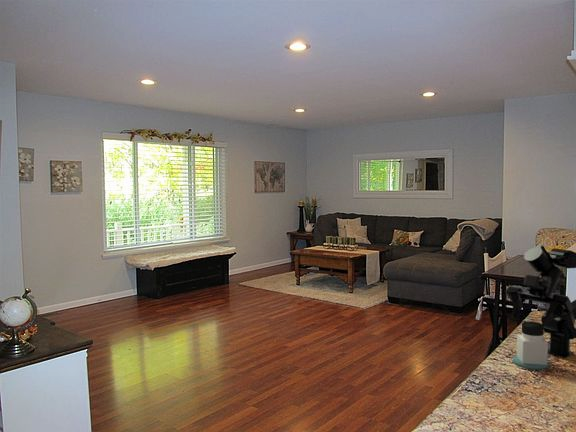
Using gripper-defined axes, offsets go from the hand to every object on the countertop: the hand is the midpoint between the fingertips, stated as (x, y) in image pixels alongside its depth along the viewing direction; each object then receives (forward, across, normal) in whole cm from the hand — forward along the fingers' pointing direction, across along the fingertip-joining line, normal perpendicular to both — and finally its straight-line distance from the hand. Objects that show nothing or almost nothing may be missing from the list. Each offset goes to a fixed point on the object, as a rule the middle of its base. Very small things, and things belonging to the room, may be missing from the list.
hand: (527, 321), depth 149 cm
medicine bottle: (+7, 0, +11) cm, 13 cm away
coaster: (+8, 0, +11) cm, 14 cm away
